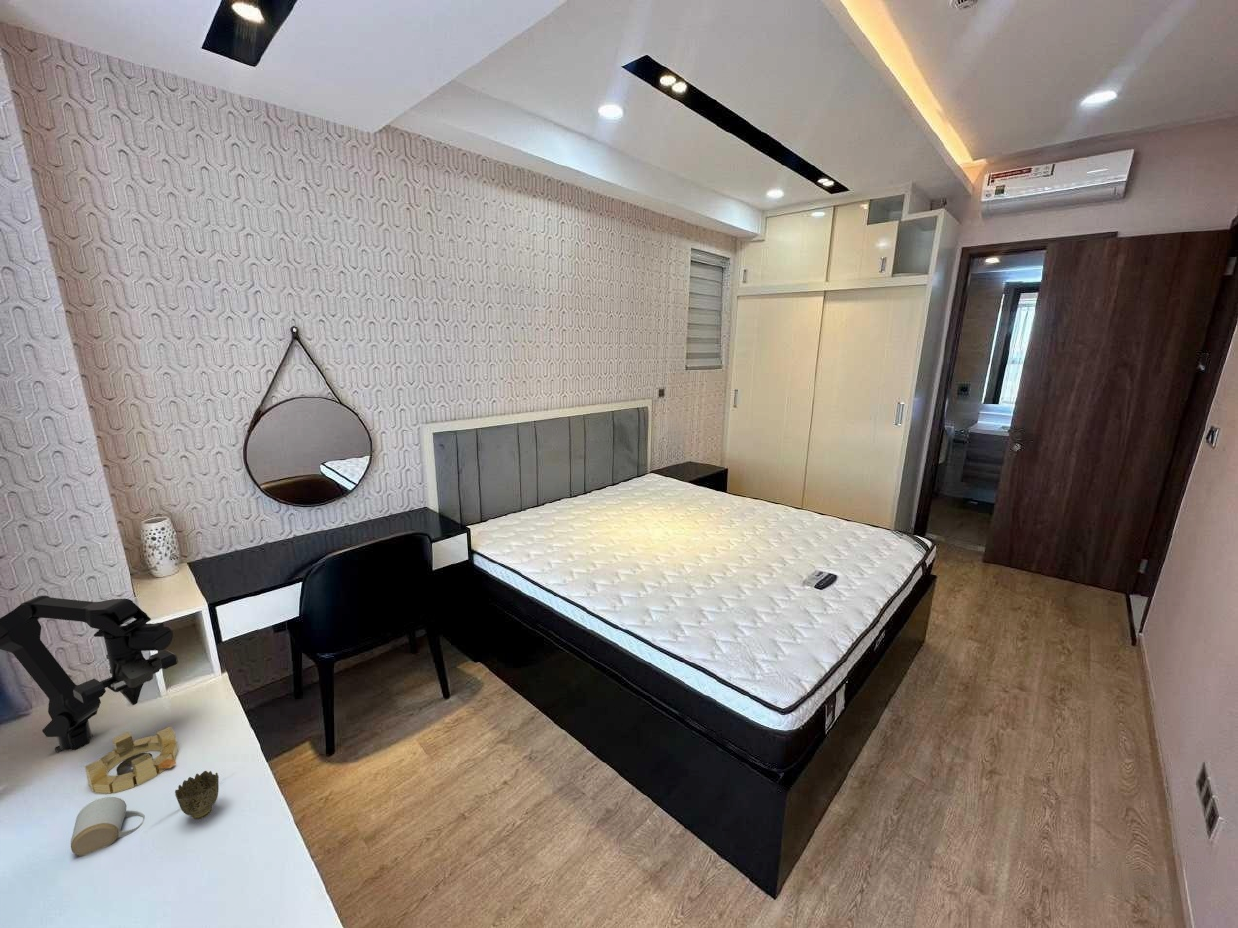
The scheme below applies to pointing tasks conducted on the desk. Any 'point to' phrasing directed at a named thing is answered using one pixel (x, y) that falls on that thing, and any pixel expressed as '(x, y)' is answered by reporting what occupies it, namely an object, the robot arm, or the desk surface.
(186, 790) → the cup
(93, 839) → the ceramic mug
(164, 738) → the ring nut
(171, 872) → the desk surface
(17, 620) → the robot arm
